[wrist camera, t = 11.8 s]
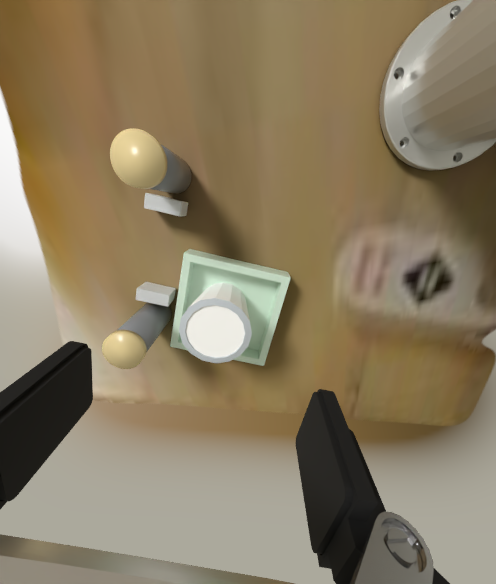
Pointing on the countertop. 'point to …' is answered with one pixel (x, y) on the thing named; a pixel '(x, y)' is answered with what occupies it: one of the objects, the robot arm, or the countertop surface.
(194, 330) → the white cup
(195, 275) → the tray
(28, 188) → the countertop surface
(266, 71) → the countertop surface
